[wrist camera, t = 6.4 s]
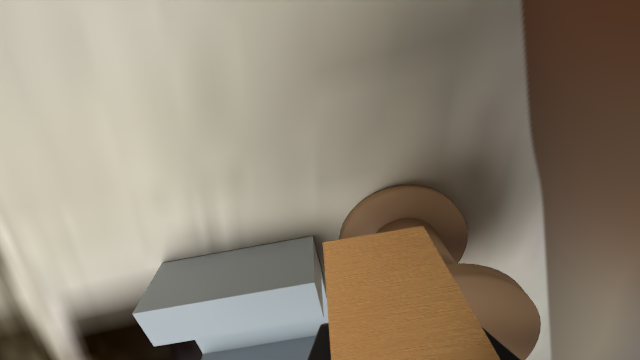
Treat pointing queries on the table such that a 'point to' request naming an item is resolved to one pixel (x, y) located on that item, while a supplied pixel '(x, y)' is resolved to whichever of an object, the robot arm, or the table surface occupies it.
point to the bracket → (239, 302)
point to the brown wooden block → (397, 301)
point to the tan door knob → (453, 259)
